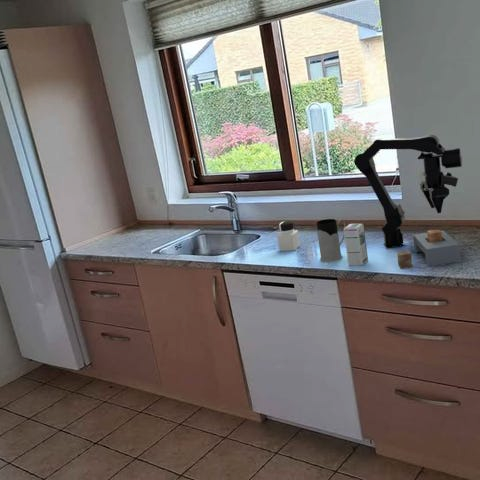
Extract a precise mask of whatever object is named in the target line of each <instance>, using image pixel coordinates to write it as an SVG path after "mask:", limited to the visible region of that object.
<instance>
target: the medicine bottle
mask: <svg viewBox="0 0 480 480" xmlns="http://www.w3.org/2000/svg"><path fill="white" fill-rule="evenodd" d="M278 226H279V233H278V234H277V236H276V237H277V244H278V250H279V251H280V252H294V251H296V250H297V249H298V248H299V247H301V244H300V243H301V242H300V237H299V231H298V230H297V229H295V227H294V222H293V221H292V220H285V221H281V222H280V223H279V224H278Z"/></svg>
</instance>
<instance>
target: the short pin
mask: <svg viewBox="0 0 480 480" xmlns="http://www.w3.org/2000/svg"><path fill="white" fill-rule="evenodd" d="M396 254H397V263H398V267H399V268H400V269H403V270H404V269H409V268H413V258H412V252H411V251H410V250H408V249H407V250H402V251H397V252H396Z"/></svg>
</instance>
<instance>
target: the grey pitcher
mask: <svg viewBox="0 0 480 480" xmlns="http://www.w3.org/2000/svg"><path fill="white" fill-rule="evenodd" d="M341 221H342V222H343V229H344V228H345V227H346V226H347V224H346V221H345V220H344V219H339V220H336V219H335V218H326V219H321V220H319V221H317V222H316V228H317V230H316V231H317V239H318V245H319V247H318V248H319V252H320V253H319V254H320V257H319V258H320V259H319V261H320V262H321V263H322V262H323V263H333V262H338V261H339V260H342V259H343V257H344V256H343V255H342V252H341V245H342V244H343V241H345V237H344V234H343V235H342V238H341V240H340V237H339V230H340V229H339V224H340V222H341Z"/></svg>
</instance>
